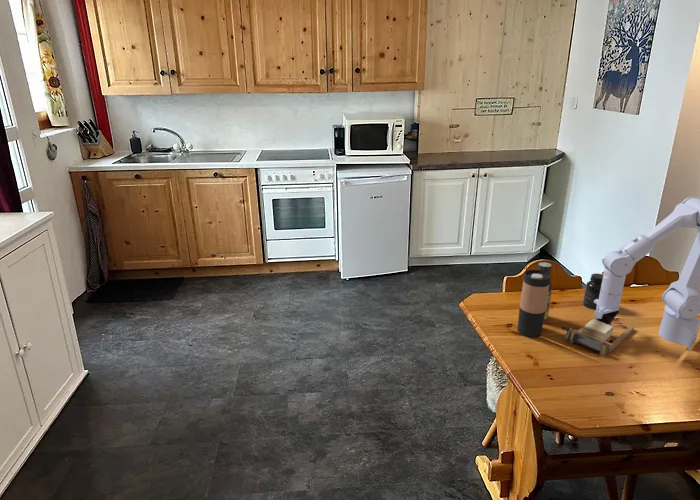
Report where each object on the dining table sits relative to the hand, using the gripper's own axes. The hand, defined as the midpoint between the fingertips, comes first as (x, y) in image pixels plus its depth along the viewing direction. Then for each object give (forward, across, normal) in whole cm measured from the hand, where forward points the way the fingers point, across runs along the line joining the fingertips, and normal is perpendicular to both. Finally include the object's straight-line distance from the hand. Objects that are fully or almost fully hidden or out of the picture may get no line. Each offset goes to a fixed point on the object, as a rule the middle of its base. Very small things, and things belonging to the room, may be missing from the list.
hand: (602, 330), depth 151 cm
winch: (+2, +11, -1) cm, 11 cm away
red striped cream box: (+2, +4, 0) cm, 5 cm away
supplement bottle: (+3, -18, -10) cm, 21 cm away
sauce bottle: (+3, +4, -19) cm, 20 cm away
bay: (+2, -1, 0) cm, 3 cm away
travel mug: (+3, +13, -17) cm, 22 cm away
